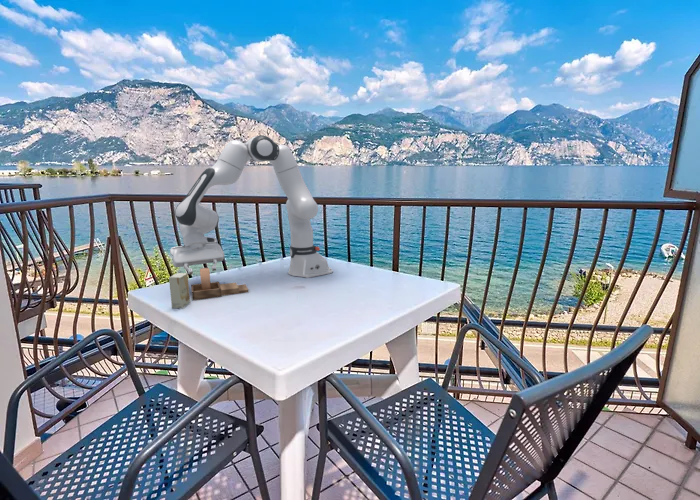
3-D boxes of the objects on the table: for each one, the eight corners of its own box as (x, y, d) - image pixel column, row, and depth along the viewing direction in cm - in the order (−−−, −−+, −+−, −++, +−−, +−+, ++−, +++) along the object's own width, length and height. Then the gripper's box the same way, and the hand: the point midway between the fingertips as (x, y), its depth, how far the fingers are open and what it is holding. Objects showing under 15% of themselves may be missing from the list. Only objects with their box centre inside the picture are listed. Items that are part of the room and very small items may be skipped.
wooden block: (210, 291, 149) (208, 267, 146) (211, 293, 146) (209, 269, 143) (201, 292, 147) (199, 268, 145) (202, 295, 144) (200, 270, 142)
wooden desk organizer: (245, 286, 158) (244, 278, 157) (249, 293, 149) (248, 285, 148) (191, 292, 149) (191, 284, 148) (192, 300, 140) (191, 292, 139)
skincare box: (182, 308, 132) (179, 277, 129) (171, 308, 132) (168, 277, 129) (190, 302, 138) (188, 272, 135) (179, 302, 138) (176, 272, 135)
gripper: (169, 243, 145) (176, 271, 139) (220, 238, 156) (228, 264, 151) (168, 251, 149) (175, 279, 144) (218, 246, 161) (225, 271, 155)
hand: (202, 271), depth 147 cm, fingers open, 8 cm apart
